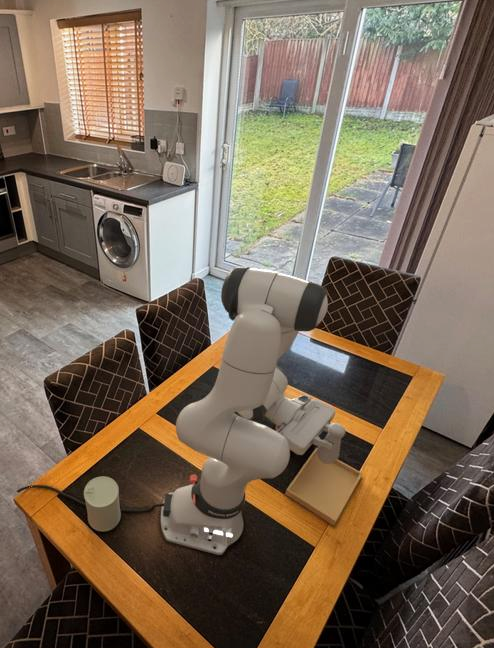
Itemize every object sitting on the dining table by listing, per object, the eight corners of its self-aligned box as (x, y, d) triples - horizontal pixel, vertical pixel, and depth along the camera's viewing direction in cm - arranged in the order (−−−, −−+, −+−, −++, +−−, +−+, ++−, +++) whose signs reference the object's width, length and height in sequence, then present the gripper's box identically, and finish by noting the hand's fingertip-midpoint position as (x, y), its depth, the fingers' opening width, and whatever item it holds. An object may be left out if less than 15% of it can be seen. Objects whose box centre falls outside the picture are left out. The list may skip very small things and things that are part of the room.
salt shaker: (338, 468, 113) (351, 437, 106) (316, 465, 114) (328, 434, 106) (334, 451, 118) (346, 420, 110) (313, 448, 119) (324, 417, 111)
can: (90, 500, 116) (86, 474, 109) (122, 500, 116) (120, 475, 109) (85, 531, 108) (80, 506, 101) (119, 532, 108) (117, 506, 101)
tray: (333, 526, 109) (336, 521, 107) (284, 494, 117) (286, 489, 115) (360, 478, 121) (362, 473, 119) (314, 452, 129) (316, 447, 127)
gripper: (273, 427, 111) (321, 456, 103) (309, 391, 123) (354, 415, 115) (269, 442, 115) (315, 471, 107) (304, 406, 126) (348, 430, 118)
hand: (335, 442), depth 111 cm, fingers closed on salt shaker, 3 cm apart
